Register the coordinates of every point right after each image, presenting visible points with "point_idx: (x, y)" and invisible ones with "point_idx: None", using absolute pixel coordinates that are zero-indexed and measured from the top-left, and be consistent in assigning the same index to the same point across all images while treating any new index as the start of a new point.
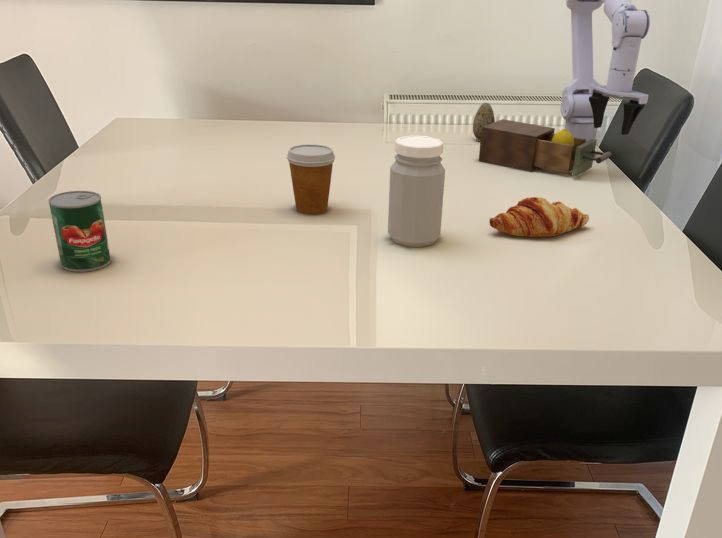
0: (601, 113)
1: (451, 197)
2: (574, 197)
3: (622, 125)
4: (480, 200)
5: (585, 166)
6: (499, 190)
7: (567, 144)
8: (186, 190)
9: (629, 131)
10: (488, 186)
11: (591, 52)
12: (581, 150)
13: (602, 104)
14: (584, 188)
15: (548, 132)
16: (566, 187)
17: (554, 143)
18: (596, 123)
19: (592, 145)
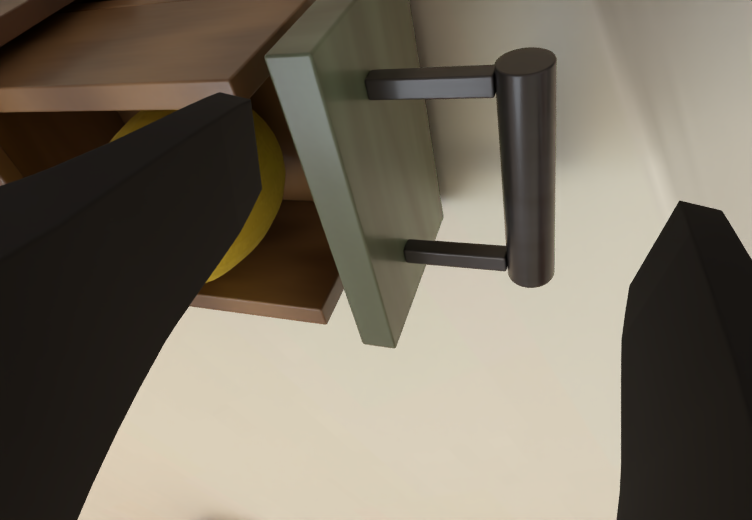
0: (140, 244)
1: (303, 468)
2: (562, 394)
3: (623, 403)
4: (360, 470)
5: (416, 123)
6: (332, 408)
7: (248, 251)
8: (96, 506)
9: (735, 234)
10: (286, 392)
11: None
12: (400, 327)
13: (47, 373)
14: (548, 291)
15: (14, 177)
16: (472, 312)
17: (219, 309)
18: (235, 231)
19: (352, 134)
